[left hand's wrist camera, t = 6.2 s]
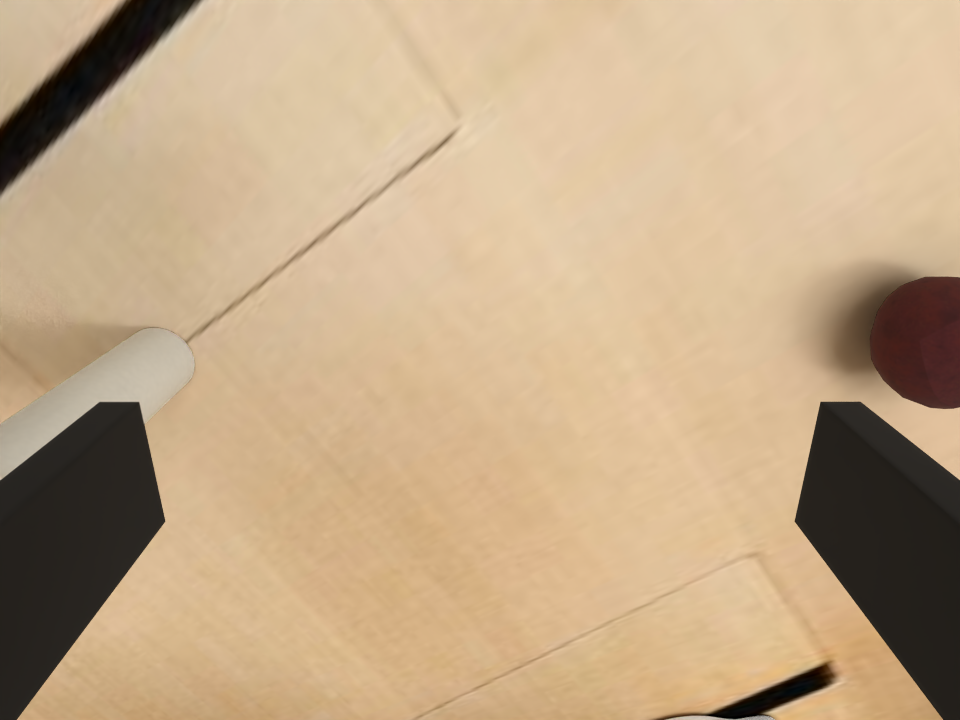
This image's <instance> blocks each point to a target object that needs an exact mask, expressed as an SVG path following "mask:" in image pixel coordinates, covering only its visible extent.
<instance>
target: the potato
mask: <svg viewBox="0 0 960 720" xmlns="http://www.w3.org/2000/svg"><path fill="white" fill-rule="evenodd" d="M870 348H871V359H872V361H873V364H874V366H875V368H876V369H877V371H878V372H879V374H880V376H881V377H882V379H883V380H884V381H885V382H886V383H887V384H888V385H889V386H890V387H891V388H892V389H893V390H895V391H896V392H897V393H898V394H899V395H901V396H902V397H903V398H906V399H908V400H911V401H914V402H916V403H919V404H922V405H924V406H927V407H930V408H940V409H953V408H958V407H960V278H959V277H923V278H921V279H918V280H915V281H912V282H909V283H906V284H904V285H902V286H900V287H899V288H898V289H896V290H895V291H894V292H893V293H892V294H890V295H889V296H888V297H887V298H886V300H885V301H884V302H883V304H882V305H881V307H880V308H879V310H878V311H877V315H876V318H875V321H874V325H873V328H872V332H871V336H870Z"/></svg>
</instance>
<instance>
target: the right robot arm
mask: <svg viewBox="0 0 960 720" xmlns="http://www.w3.org/2000/svg"><path fill="white" fill-rule="evenodd" d="M666 720H775V719H774V718H772V717H769V716H753V717H746V718H740V719H725V718H718V717H711V716H683V717H676V718H671V719H666Z"/></svg>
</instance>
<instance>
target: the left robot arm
mask: <svg viewBox="0 0 960 720" xmlns="http://www.w3.org/2000/svg"><path fill="white" fill-rule="evenodd" d="M164 522H165V518H164V513H163V509H162V504H161V499H160V495H159V490H158V486H157V481H156V476H155V472H154V467H153V462H152V458H151V453H150V449H149V444H148V439H147V435H146V430H145V426H144V421H143V416H142V412H141V407H140V403H139V402H99V403H98V404H96V405H95V406H94V407H92V408H91V409H90V410H89V411H87V412H86V413H85V414H84V415H82V416H81V417H80V418H79V419H77V420H76V421H75V422H73V423H72V424H71V425H70V426H68V427H67V428H66V429H65V430H63V431H62V432H61V433H60V434H58V435H57V436H56V437H54V438H53V439H52V440H51V441H49V442H48V443H47V444H46V445H44V446H43V447H42V448H41V449H39V450H38V451H37V452H35V453H34V454H33V455H32V456H30V457H29V458H28V459H27V460H25V461H24V462H23V463H22V464H20V465H19V466H18V467H16V468H15V469H14V470H13V471H11V472H10V473H9V474H8V475H6V476H5V477H4V478H3V479H1V480H0V720H17V719H18V717H19V716H20V715H21V713H22V712H23V711H24V709H25V708H26V707H27V705H28V704H29V703H30V701H31V700H32V699H33V697H34V696H35V695H36V693H37V692H38V691H39V689H40V688H41V687H42V685H43V684H44V683H45V681H46V680H47V679H48V677H49V676H50V675H51V673H52V672H53V671H54V669H55V668H56V667H57V665H58V664H59V663H60V661H61V660H62V659H63V657H64V656H65V655H66V653H67V652H68V651H69V649H70V648H71V647H72V645H73V644H74V643H75V641H76V640H77V639H78V637H79V636H80V635H81V633H82V632H83V631H84V629H85V628H86V627H87V625H88V624H89V623H90V621H91V620H92V619H93V617H94V616H95V615H96V613H97V612H98V611H99V609H100V608H101V607H102V605H103V604H104V603H105V601H106V600H107V599H108V597H109V596H110V595H111V593H112V592H113V591H114V589H115V588H116V587H117V585H118V584H119V583H120V581H121V580H122V579H123V577H124V576H125V575H126V573H127V572H128V570H129V569H130V568H131V566H132V565H133V564H134V562H135V561H136V560H137V558H138V557H139V556H140V554H141V553H142V552H143V550H144V549H145V548H146V546H147V545H148V544H149V542H150V541H151V540H152V538H153V537H154V536H155V534H156V533H157V532H158V530H159V529H160V528H161V526H162V525H163V524H164ZM795 522H796V524H797V525H798V526H799V528H800V529H801V530H802V532H803V533H804V534H805V536H806V537H807V538H808V540H809V541H810V542H811V544H812V545H813V546H814V548H815V549H816V550H817V552H818V553H819V554H820V556H821V557H822V558H823V560H824V561H825V562H826V564H827V565H828V566H829V568H830V569H831V570H832V572H833V573H834V575H835V576H836V577H837V579H838V580H839V581H840V583H841V584H842V585H843V587H844V588H845V589H846V591H847V592H848V593H849V595H850V596H851V597H852V599H853V600H854V601H855V603H856V604H857V605H858V607H859V608H860V609H861V611H862V612H863V613H864V615H865V616H866V617H867V619H868V620H869V621H870V623H871V624H872V625H873V627H874V628H875V629H876V631H877V632H878V633H879V635H880V636H881V637H882V639H883V640H884V641H885V643H886V644H887V645H888V647H889V648H890V649H891V651H892V652H893V653H894V655H895V656H896V657H897V659H898V660H899V661H900V663H901V664H902V665H903V667H904V668H905V669H906V671H907V672H908V673H909V675H910V676H911V677H912V679H913V680H914V681H915V683H916V684H917V685H918V687H919V688H920V689H921V691H922V692H923V693H924V695H925V696H926V697H927V699H928V700H929V701H930V703H931V704H932V705H933V707H934V708H935V709H936V711H937V712H938V713H939V715H940V716H941V717H942V719H943V720H960V480H959V479H957V478H956V477H955V476H954V475H952V474H951V473H950V472H949V471H947V470H946V469H945V468H944V467H942V466H941V465H940V464H938V463H937V462H936V461H935V460H933V459H932V458H931V457H930V456H928V455H927V454H926V453H925V452H923V451H922V450H921V449H919V448H918V447H917V446H916V445H914V444H913V443H912V442H911V441H909V440H908V439H907V438H906V437H904V436H903V435H902V434H900V433H899V432H898V431H897V430H895V429H894V428H893V427H892V426H890V425H889V424H888V423H887V422H885V421H884V420H883V419H881V418H880V417H879V416H878V415H876V414H875V413H874V412H873V411H871V410H870V409H869V408H868V407H866V406H865V405H864V404H862V403H861V402H821V403H820V407H819V412H818V416H817V421H816V426H815V430H814V435H813V439H812V444H811V449H810V453H809V458H808V462H807V467H806V472H805V476H804V481H803V486H802V490H801V495H800V499H799V504H798V509H797V513H796V518H795Z"/></svg>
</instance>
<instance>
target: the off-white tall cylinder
mask: <svg viewBox="0 0 960 720" xmlns="http://www.w3.org/2000/svg"><path fill="white" fill-rule="evenodd" d="M194 368H195V362H194V357H193V354H192V351H191V349H190V348H189V346H188V345H187V344H186V342H185V341H184V340H183V339H182V338H180V337H179V336H178V335H176V334H175V333H173V332H171V331H169V330H166V329H162V328H146V329H142V330H140V331H138V332H136V333H135V334H133V335H132V336H130V337H129V338H127V339H126V340H124V341H123V342H121V343H120V344H118V345H117V346H115V347H114V348H113V349H111V350H110V351H108V352H107V353H105V354H104V355H102V356H101V357H99V358H98V359H96V360H95V361H93V362H92V363H90V364H89V365H87V366H86V367H84V368H83V369H81V370H80V371H78V372H77V373H75V374H74V375H72V376H71V377H69V378H68V379H66V380H65V381H63V382H62V383H60V384H59V385H57V386H56V387H54V388H53V389H52V390H50V391H49V392H47V393H46V394H44V395H43V396H41V397H40V398H38V399H37V400H35V401H34V402H32V403H31V404H29V405H28V406H26V407H25V408H23V409H22V410H20V411H19V412H17V413H16V414H14V415H13V416H11V417H10V418H8V419H7V420H5V421H4V422H2V423H1V424H0V477H1V478H2V479H3V478H4V477H5V476H6V475H8V474H9V473H10V472H11V471H13V470H14V469H15V468H16V467H18V466H19V465H20V464H22V463H23V462H24V461H25V460H27V459H28V458H29V457H30V456H32V455H33V454H34V453H35V452H37V451H38V450H39V449H41V448H42V447H43V446H44V445H46V444H47V443H48V442H49V441H51V440H52V439H53V438H54V437H56V436H57V435H58V434H60V433H61V432H62V431H63V430H65V429H66V428H67V427H68V426H70V425H71V424H72V423H73V422H75V421H76V420H77V419H79V418H80V417H81V416H82V415H84V414H85V413H86V412H87V411H89V410H90V409H91V408H92V407H94V406H95V405H96V404H98V403H99V402H139V403H140V407H141V412H142V416H143V421H144V424H145V423H146V422H148V421H149V420H150V419H151V418H152V417H153V416H154V415H155V414H156V413H157V412H158V411H159V410H160V409H161V408H162V407H163V406H164V405H165V404H166V403H167V402H168V401H169V400H170V399H171V398H172V397H173V396H175V395H176V394H177V393H178V392H179V391H180V390H181V389H182V388H183V387H184V386H185V385H186V384H187V383H188V382H189V381H190V379H191V378H192V376H193V373H194Z"/></svg>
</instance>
